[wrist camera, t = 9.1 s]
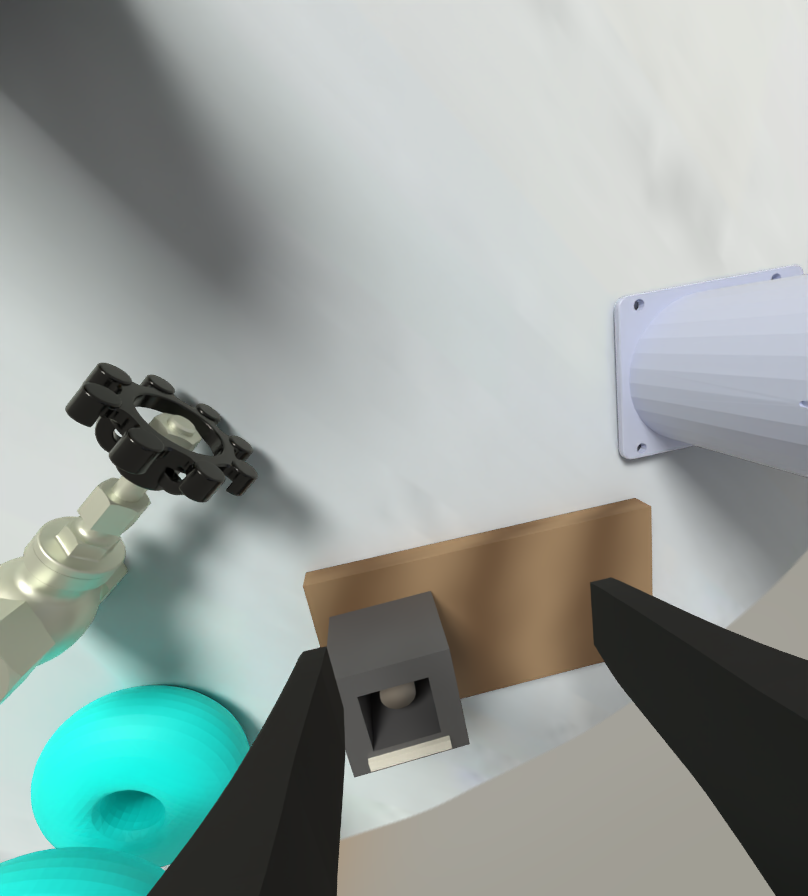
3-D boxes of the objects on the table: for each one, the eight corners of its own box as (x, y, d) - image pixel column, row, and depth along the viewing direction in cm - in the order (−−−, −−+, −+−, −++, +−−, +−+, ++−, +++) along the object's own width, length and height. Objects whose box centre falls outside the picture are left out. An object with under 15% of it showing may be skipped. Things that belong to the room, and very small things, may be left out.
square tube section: (430, 590, 20) (450, 652, 16) (448, 672, 21) (471, 748, 17) (329, 617, 20) (323, 687, 16) (354, 698, 21) (354, 782, 17)
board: (635, 497, 22) (700, 532, 17) (638, 634, 24) (696, 692, 20) (305, 572, 20) (294, 629, 16) (343, 709, 23) (342, 788, 18)
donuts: (-258, 1131, 11) (-81, 912, 10) (22, 771, 21) (129, 639, 20) (76, 1179, 14) (248, 1007, 13) (190, 838, 23) (293, 724, 22)
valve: (123, 630, 20) (274, 454, 19) (15, 763, 14) (234, 510, 12) (-8, 557, 18) (148, 358, 17) (-202, 670, 12) (26, 365, 11)
